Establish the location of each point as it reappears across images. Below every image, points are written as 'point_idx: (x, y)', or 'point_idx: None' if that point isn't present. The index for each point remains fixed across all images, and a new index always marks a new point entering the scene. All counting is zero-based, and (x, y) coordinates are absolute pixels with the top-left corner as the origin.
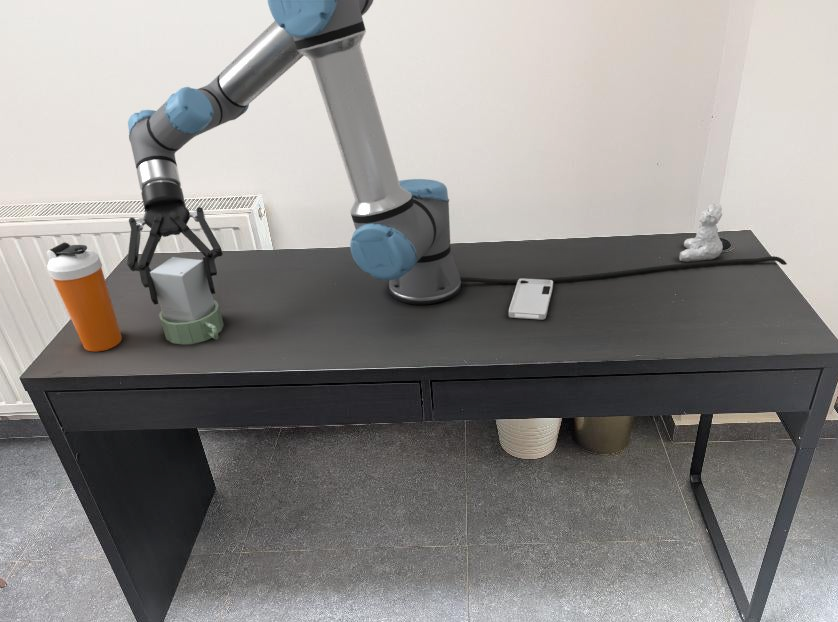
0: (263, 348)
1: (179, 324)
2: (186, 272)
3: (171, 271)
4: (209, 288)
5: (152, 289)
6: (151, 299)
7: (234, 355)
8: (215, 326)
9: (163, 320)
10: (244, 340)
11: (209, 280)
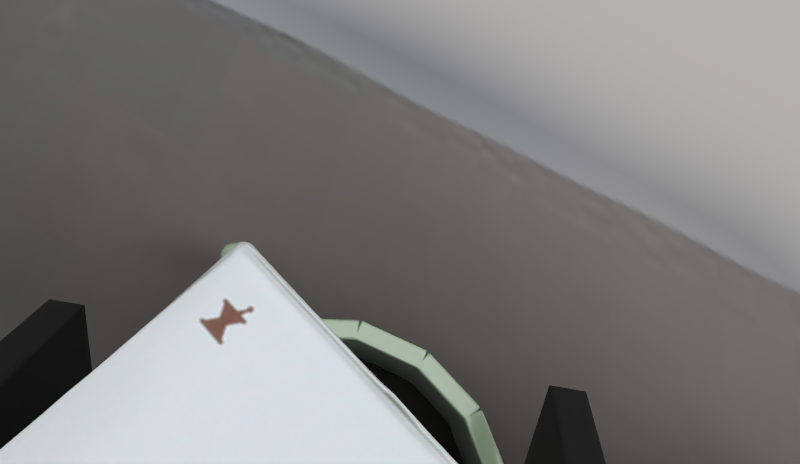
0: (96, 125)
1: (407, 342)
2: (164, 311)
3: (326, 442)
4: (78, 309)
5: (574, 460)
6: (584, 394)
7: (226, 136)
8: (222, 251)
9: (493, 457)
10: (137, 239)
11: (12, 352)
